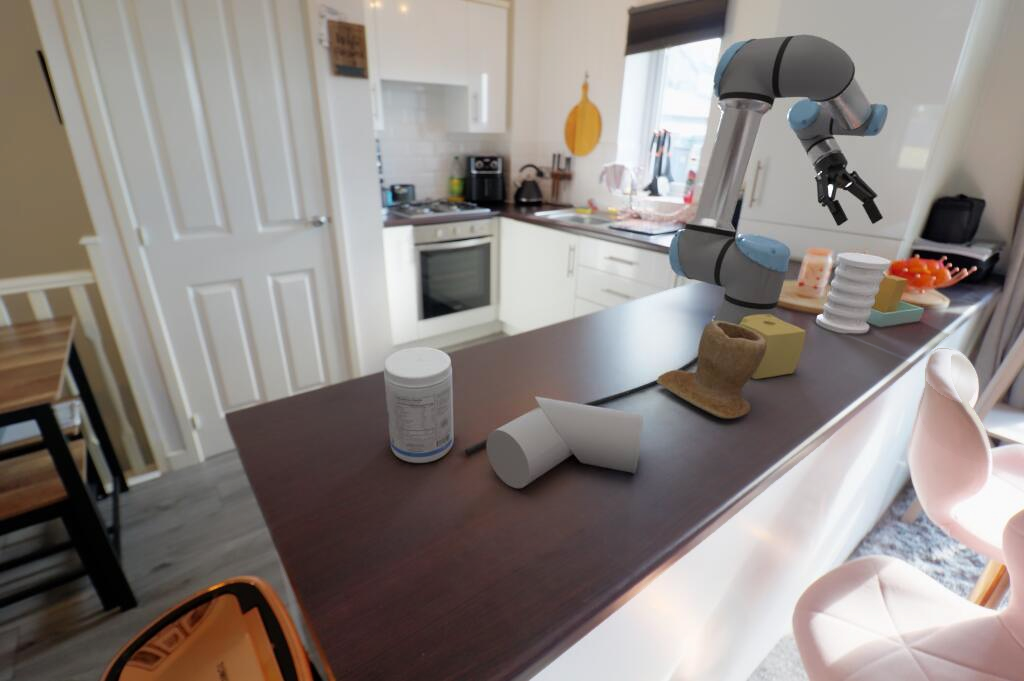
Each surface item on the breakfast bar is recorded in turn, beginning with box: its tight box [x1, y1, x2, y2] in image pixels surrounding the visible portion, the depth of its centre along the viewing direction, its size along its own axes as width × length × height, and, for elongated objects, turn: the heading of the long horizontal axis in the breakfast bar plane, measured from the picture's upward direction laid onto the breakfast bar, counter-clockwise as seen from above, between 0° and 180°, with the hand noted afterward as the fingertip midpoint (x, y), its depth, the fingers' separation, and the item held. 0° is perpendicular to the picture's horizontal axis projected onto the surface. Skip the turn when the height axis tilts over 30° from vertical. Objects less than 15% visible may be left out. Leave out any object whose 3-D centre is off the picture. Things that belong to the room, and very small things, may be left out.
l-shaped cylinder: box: [485, 396, 644, 489], centre depth 68 cm, size 18×11×20 cm
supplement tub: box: [383, 346, 454, 464], centre depth 70 cm, size 10×10×15 cm
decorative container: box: [815, 252, 892, 335], centre depth 121 cm, size 12×12×18 cm
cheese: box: [739, 314, 807, 380], centre depth 99 cm, size 10×11×10 cm
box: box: [866, 298, 925, 328], centre depth 129 cm, size 15×10×4 cm
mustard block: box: [871, 275, 909, 313], centre depth 128 cm, size 4×4×11 cm
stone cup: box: [656, 321, 766, 420], centre depth 85 cm, size 15×12×15 cm
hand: (860, 222), depth 132 cm, fingers open, 13 cm apart
